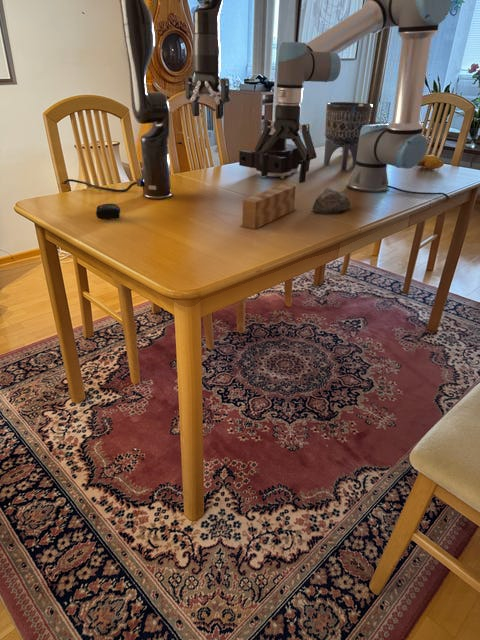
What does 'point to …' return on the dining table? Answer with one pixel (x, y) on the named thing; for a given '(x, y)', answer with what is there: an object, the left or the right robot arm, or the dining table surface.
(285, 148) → the mechanical component
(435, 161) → the toy
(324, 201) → the rock
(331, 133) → the planter
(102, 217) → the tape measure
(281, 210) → the bar
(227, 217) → the dining table surface
